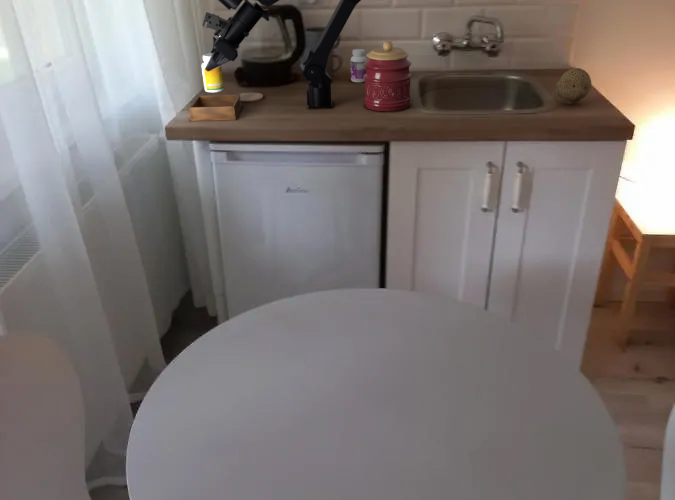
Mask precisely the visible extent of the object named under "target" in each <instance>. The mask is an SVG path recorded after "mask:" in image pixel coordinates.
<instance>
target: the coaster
mask: <svg viewBox="0 0 675 500" xmlns="http://www.w3.org/2000/svg"><path fill="white" fill-rule="evenodd" d="M238 94H240V98H241V103H254V102H258V101H261V100H263V99H264V95H263V94H262V93H259V92H241V93H237V94H236V95H238Z"/></svg>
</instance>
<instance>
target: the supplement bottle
mask: <svg viewBox="0 0 675 500" xmlns="http://www.w3.org/2000/svg"><path fill="white" fill-rule="evenodd" d="M212 54H213V53H211V52H209V53H208V52H207V53H204V54H203V55H202V61H203V62H202V63H201V73H202V81H203V89H204V91H205V92H206V93H220V92H223V91H224V89H225V84H224V76H223V67H222V66H223V65H220V66H218V67H216V68H214V69H212V70H210V71H206V70H205V67H206V65H207V64H208V62H209V60H210V58H211V56H212Z"/></svg>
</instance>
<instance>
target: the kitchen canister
mask: <svg viewBox="0 0 675 500" xmlns="http://www.w3.org/2000/svg"><path fill="white" fill-rule="evenodd" d="M408 57H409V53H408V52H407V51H405V50H404V49H403V48H402V47H397V46H394V45H393V43H392V42H391V41H390V40H386V41H384V42H383V45H382V46H380V47H375V48H373V49H372V50H371V51H370V52H368V53H367V54H366V58H367V61H366V62H365V63H364V66H365V67H366V74H365V75H364V78H365V82H364V97H363V98H364V100H363V101H364V103H365V104H364V106H365V107H366V108H367V109H369V110H372V111H377V112H397V111H402V110H405V109H407V108H408V107H410V103H411V78H412V74H411V73H410V67H411V66H412V62H411V60H409V59H408Z"/></svg>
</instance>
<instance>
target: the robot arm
mask: <svg viewBox="0 0 675 500" xmlns="http://www.w3.org/2000/svg"><path fill="white" fill-rule="evenodd" d="M217 1H218V2H219V3H221V5H222V6H223V7H225V8H226V9H227V10H229V11H230V10H231V9H232V10H237V11H236V12H235V13H234V14H233V15H231V16H229V17H228V18H227V19H225V18H223V17H220V15H217V14H215V13H210V12H207V11H205V15H204V18H203V21H202V27H204V28H205V29H211V30H213V31H214V32H213V36H212V42H213V43H212V48H211V51H210V53H213V54H212V56H211V58H210V60H209V62H208V64H207V65H206V67H205V70H206V71H210V70H212V69H214V68H216V67H218V66H220V65H221V66H223V65H225V64H227V63H228V62H235V61H236V59H237V58H238V56H239V54H238V53H239V52H238V49H239V48H240V45H241V44H242V42H243V41H244V40H245V39H246V38H248V37H249V35H250V32H252V30H253V28H254V27H255V26H256V25H257V23H258V22H259V21H260V20H261V19H262V18H263V19H264V20H265V21H267V22H269V21H270V15H269V14H270V9H269V8H265V9H264V8H263V7H262V5H263V6H264V7H270V6H273V5H274V4H276V3H278V2H279V1H280V0H255V2H253V3H252V2H251V0H217ZM243 1H244V2H243ZM256 1H257V2H256ZM361 1H362V0H339V1H338V4H337V5H336V7H335V9H334V11H333V13H332V14H331V17H330V18H329V20H328V22H327V23H326V26H325V28H324V29H323V32H322V33H321V34H320V36H319V39H318V40H317V41H316V43H315V45H314V46H313V47H312V48H310V47H309V46H306V48H305V51H304V54H303V55H302V56H301V57H300V58H299V60H300V65H299V67H300V71H301V73H302V75H303V77H304V78H305V79H306V80H307V81H308V87H307V88H306V105H308V109H331V108H332V107H333V101H332V83H333V79H332V78H331V76H330V74H329V73H328V72H327V71H326V68H327V64H328V61H329V57H330V53H331V51H332V49H333V47H334V46H335V44H336V43H337V40H338V38H339V37H340V34H341V33H342V31H343V29H344V27H345V26H346V24H347V22H348V21H349V18H350V16H351V15H352V12H353V11H354V9H355V7H356V6H357V5H358V4H359V3H360V2H361ZM242 2H243V3H242ZM241 3H242V4H241ZM237 8H238V9H237Z"/></svg>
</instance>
